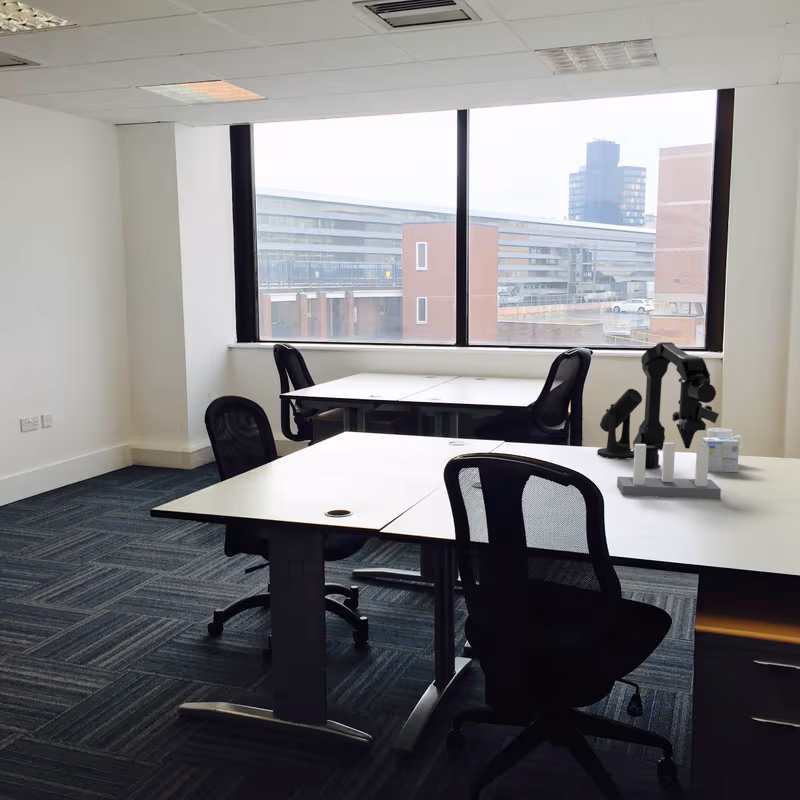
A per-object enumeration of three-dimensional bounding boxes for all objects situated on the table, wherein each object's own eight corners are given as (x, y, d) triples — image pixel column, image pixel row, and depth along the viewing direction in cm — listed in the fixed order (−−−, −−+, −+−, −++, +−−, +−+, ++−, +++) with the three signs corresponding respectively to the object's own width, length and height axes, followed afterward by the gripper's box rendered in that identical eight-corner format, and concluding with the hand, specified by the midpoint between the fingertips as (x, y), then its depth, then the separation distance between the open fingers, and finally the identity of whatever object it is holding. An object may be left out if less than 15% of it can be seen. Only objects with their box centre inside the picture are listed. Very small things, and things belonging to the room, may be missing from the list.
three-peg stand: (617, 485, 261) (619, 438, 259) (710, 488, 258) (713, 440, 255) (622, 495, 249) (624, 446, 247) (720, 499, 246) (723, 448, 244)
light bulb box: (732, 468, 286) (734, 437, 285) (738, 472, 280) (740, 441, 278) (700, 467, 287) (701, 436, 286) (705, 472, 281) (707, 440, 279)
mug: (703, 462, 296) (705, 430, 294) (708, 458, 303) (710, 426, 301) (740, 466, 290) (742, 433, 288) (743, 461, 297) (745, 429, 295)
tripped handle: (661, 480, 255) (663, 442, 253) (671, 480, 254) (673, 442, 253) (662, 481, 253) (664, 443, 251) (673, 482, 252) (675, 443, 251)
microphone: (622, 461, 296) (625, 391, 292) (586, 453, 310) (589, 386, 307) (650, 457, 304) (654, 388, 300) (615, 449, 318) (617, 383, 315)
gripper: (725, 403, 247) (722, 455, 249) (709, 394, 265) (706, 443, 267) (686, 402, 248) (683, 454, 250) (673, 394, 267) (670, 442, 269)
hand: (687, 448), depth 259 cm, fingers closed
